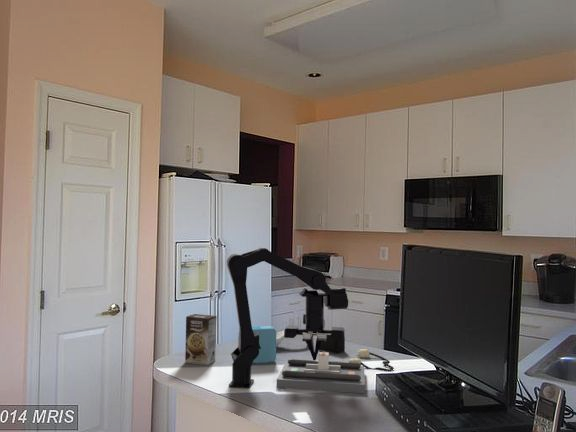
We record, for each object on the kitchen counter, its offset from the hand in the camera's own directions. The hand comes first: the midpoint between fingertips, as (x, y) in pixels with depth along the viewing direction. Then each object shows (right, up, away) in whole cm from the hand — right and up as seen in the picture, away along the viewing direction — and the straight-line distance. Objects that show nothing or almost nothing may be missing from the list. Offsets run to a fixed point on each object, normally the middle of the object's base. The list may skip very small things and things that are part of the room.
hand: (314, 359), depth 146 cm
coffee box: (-39, -6, +18) cm, 44 cm away
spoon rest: (-11, -7, +39) cm, 41 cm away
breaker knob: (+3, -3, -1) cm, 4 cm away
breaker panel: (+2, -6, -1) cm, 7 cm away
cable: (+22, -8, +19) cm, 30 cm away
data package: (-19, -7, +19) cm, 28 cm away
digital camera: (+9, -7, +35) cm, 37 cm away
